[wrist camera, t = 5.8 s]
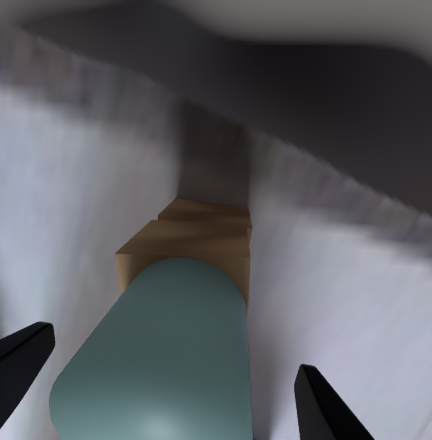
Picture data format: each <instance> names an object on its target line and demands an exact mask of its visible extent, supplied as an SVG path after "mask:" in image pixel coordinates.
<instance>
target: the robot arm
mask: <svg viewBox="0 0 432 440" xmlns="http://www.w3.org/2000/svg"><path fill="white" fill-rule="evenodd" d="M54 347H55V335H54V328H53V325H52V324H51V323H47V322H36V323H34V324H32V325H30V326H28V327H25V328H23V329H21V330H19V331H17V332H15V333H13V334H11V335H9V336H7V337H4V338H2V339H0V429H1V427H2V426H3V425H4V423H5V422H6V421H7V419H8V418H9V417H10V415H11V414H12V413H13V411H14V410H15V409H16V407H17V406H18V404H19V403H20V401H21V400H22V398H23V397H24V395H25V394H26V392H27V391H28V389H29V388H30V386H31V384H32V383H33V381H34V380H35V378H36V377H37V375H38V373H39V372H40V370H41V369H42V367H43V365H44V364H45V362H46V361H47V359H48V358H49V356H50V354H51V353H52V351H53V349H54ZM294 392H295V400H296V409H297V417H298V425H299V433H300V440H375V439H374V438H373V437H372V436H371V434H370V433H369V432H368V431H367V429H366V428H365V427H364V426H363V425H362V423H361V422H360V421H359V420H358V418H357V417H356V416H355V415H354V413H353V412H352V411H351V410H350V408H349V407H348V406H347V405H346V404H345V402H344V401H343V400H342V399H341V397H340V396H339V395H338V394H337V392H336V391H335V390H334V389H333V388H332V386H331V385H330V384H329V383H328V381H327V380H326V379H325V378H324V376H323V375H322V374H321V373H320V372H319V370H318V369H317V368H316V367H315V366H312V365H306V364H301V365H300V367H299V370H298V373H297V376H296V380H295V384H294Z"/></svg>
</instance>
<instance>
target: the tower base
mask: <svg viewBox="0 0 432 440" xmlns="http://www.w3.org/2000/svg"><path fill="white" fill-rule="evenodd" d="M158 220H178V221H238V222H246V226H247V235H248V243H250V237H251V232H252V225H251V220H250V214H249V209H248V208H241V207H234V206H227V205H220V204H213V203H206V202H199V201H192V200H185V199H178V198H176V199H175V200H174V201H173V202H172V203H171V204H170V205H168V206H167V207H166V208H165V209H164V210H163V211H162V212H161V213H160V214H159V215H158Z"/></svg>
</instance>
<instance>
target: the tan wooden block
mask: <svg viewBox="0 0 432 440" xmlns="http://www.w3.org/2000/svg"><path fill="white" fill-rule="evenodd" d="M180 257H183V258H192V259H197V260H201V261H203V262H206V263H209V264H211V265H213V266H215V267H217V268H218V269H220V270H222V271H223V272H224V273H225V274H227V275H228V276H229V277H230V278H231V279H232V280H233V281H234V282H235V284H236V285H237V286H238V288H239V289H240V291H241V293H242V295H243V297H244V300H245V304H246V309H247V327H248V302H249V277H250V251H249V243H248V235H247V226H246V222H238V221H178V220H151V221H150V222H149V223H148V224H147V225H146V226H145V227H143V228H142V229H141V230H140V231H139V232H138V233H137V234H136V235H135V236H134V237H132V238H131V239H130V240H129V241H128V242H127V243H126V244H125V245H124V246H123V247H121V248H120V249H119V250H118V251H117V252H116V253H115V260H116V266H117V272H118V278H119V285H120V291H121V295H122V294H123V292H124V291H125V290H126V288H127V287H128V286H129V285H130V283H131V282H132V281H133V279H134V278H135V277H136V276H137V275H138V274H139V272H141V271H142V270H143V269H144V268H146V267H147V266H149V265H150V264H152V263H155V262H157V261H160V260H164V259H168V258H180Z"/></svg>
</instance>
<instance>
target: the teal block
mask: <svg viewBox="0 0 432 440" xmlns="http://www.w3.org/2000/svg"><path fill="white" fill-rule="evenodd" d="M49 409H50V415H51V419H52V422H53V424H54V427H55V429H56V431H57V432H58V434H59V436H60V438H61V439H62V440H253V432H252V411H251V390H250V370H249V349H248V329H247V309H246V304H245V300H244V297H243V295H242V293H241V291H240V289H239V288H238V286H237V285H236V284H235V282H234V281H233V280H232V279H231V278H230V277H229V276H228V275H227V274H225V273H224V272H223V271H222V270H220V269H218V268H217V267H215V266H213V265H211V264H209V263H206V262H203V261H201V260H197V259H192V258H183V257H180V258H168V259H164V260H160V261H157V262H155V263H152V264H150V265H149V266H147V267H146V268H144V269H143V270H142V271H141V272H139V274H138V275H137V276H136V277H135V278H134V279H133V281H132V282H131V283H130V285H129V286H128V287H127V288H126V290H125V291H124V292H123V294H122V295H121V296H120V297H119V299H118V300H117V301H116V303H115V304H114V305H113V306H112V308H111V309H110V310H109V312H108V313H107V314H106V315H105V317H104V318H103V319H102V321H101V322H100V323H99V324H98V326H97V327H96V328H95V330H94V331H93V332H92V333H91V335H90V336H89V337H88V339H87V340H86V341H85V342H84V344H83V345H82V346H81V348H80V349H79V350H78V351H77V353H76V354H75V355H74V357H73V358H72V359H71V360H70V362H69V363H68V364H67V366H66V367H65V368H64V369H63V371H62V372H61V373H60V375H59V376H58V377H57V379H56V381H55V382H54V384H53V386H52V389H51V392H50V398H49Z"/></svg>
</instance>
